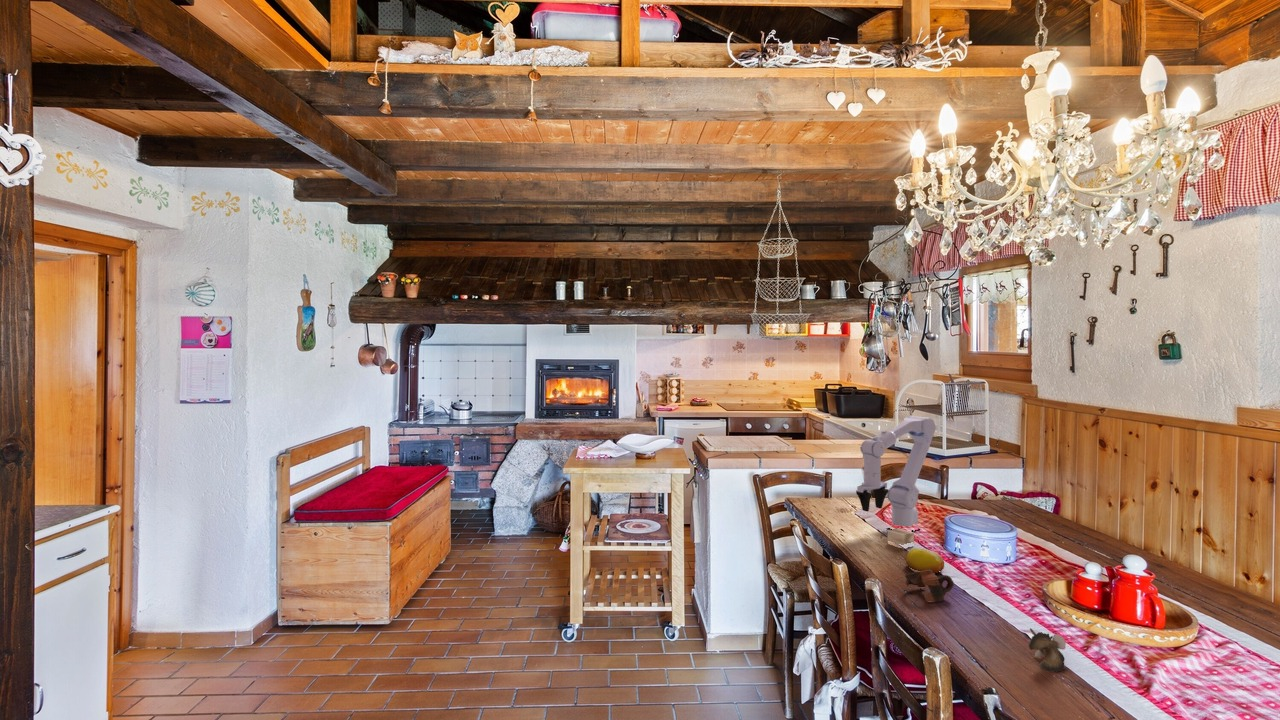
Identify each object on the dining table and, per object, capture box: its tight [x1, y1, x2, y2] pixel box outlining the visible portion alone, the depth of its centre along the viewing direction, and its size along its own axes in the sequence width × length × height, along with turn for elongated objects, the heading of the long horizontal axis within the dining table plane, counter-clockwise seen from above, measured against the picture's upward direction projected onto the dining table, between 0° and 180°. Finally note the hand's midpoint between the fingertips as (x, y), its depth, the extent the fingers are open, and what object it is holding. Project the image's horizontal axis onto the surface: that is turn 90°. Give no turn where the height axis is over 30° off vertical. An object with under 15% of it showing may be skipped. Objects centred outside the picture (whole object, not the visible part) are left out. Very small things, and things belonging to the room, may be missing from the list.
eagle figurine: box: [1028, 628, 1067, 673], centre depth 126 cm, size 8×7×9 cm
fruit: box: [905, 547, 945, 574], centre depth 179 cm, size 11×10×8 cm
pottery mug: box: [905, 570, 955, 603], centre depth 160 cm, size 12×10×8 cm
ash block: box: [887, 528, 915, 545], centre depth 202 cm, size 6×6×5 cm
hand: (872, 509), depth 214 cm, fingers open, 7 cm apart
